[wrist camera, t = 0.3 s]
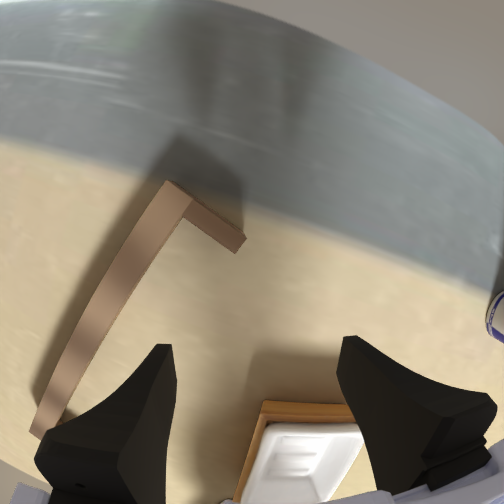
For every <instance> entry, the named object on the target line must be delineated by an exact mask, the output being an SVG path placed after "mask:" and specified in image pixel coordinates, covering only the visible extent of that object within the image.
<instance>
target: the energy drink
mask: <svg viewBox="0 0 504 504" xmlns="http://www.w3.org/2000/svg"><path fill="white" fill-rule="evenodd" d="M486 328H487V331H488V333H489V334H490V335H491V336H492V337H494V338H496V339H497V340H499V341H501V342H502V343H504V291H503V292H501V293H499V294H498V295H497V296H496V297H495V298H494V300H493V301H492V303H491V305H490V307H489V309H488V312H487V316H486Z"/></svg>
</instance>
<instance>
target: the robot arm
mask: <svg viewBox="0 0 504 504" xmlns="http://www.w3.org/2000/svg"><path fill="white" fill-rule="evenodd" d="M336 374H337V377H338V381H339V384H340V387H341V390H342V393H343V395H344V397H345V399H346V402H347V404H348V406H349V408H350V410H351V412H352V414H353V416H354V418H355V420H356V423H357V425H358V427H359V429H360V431H361V434H362V436H363V439H364V442H365V445H366V448H367V452H368V455H369V459H370V462H371V466H372V470H373V474H374V478H375V483H376V487H377V491H371V492H366V493H362V494H359V495H354V496H350V497H346V498H341V499H337V500H332V501H327V502H322V503H316V504H504V439H502V440H501V441H499V442H497V443H495V444H494V445H492V446H491V447H490V448H489V449H488V450H487V449H486V447H485V446H484V445H485V444H486V442H487V440H486V439H485V438H484V436H483V435H484V434H485V432H486V431H487V429H488V428H489V426H490V425H491V423H492V422H493V420H494V418H495V416H496V413H497V405H496V403H495V402H494V401H493V400H492V399H491V398H490V396H489V395H488V394H487V393H482V392H475V391H468V390H464V389H459V388H455V387H451V386H448V385H445V384H442V383H439V382H436V381H433V380H431V379H428V378H426V377H424V376H422V375H420V374H417V373H415V372H413V371H411V370H409V369H408V368H406V367H404V366H402V365H401V364H399V363H397V362H396V361H394V360H393V359H391V358H389V357H388V356H386V355H385V354H383V353H382V352H380V351H379V350H378V349H376V348H375V347H373V346H372V345H370V344H369V343H367V342H366V341H364V340H363V339H361V338H360V337H358V336H357V335H355V336H345V337H343V342H342V347H341V352H340V357H339V362H338V367H337V371H336ZM176 391H177V378H176V371H175V365H174V358H173V351H172V344H156V345H155V346H154V348H153V349H152V350H151V352H150V353H149V354H148V356H147V357H146V358H145V359H144V361H143V362H142V363H141V364H140V365H139V367H138V368H137V369H136V370H135V371H134V372H133V374H132V375H131V376H130V377H129V378H128V379H127V380H126V381H125V382H124V383H123V384H122V385H121V386H120V387H119V388H118V389H117V390H116V391H115V392H113V393H112V394H111V395H110V396H109V397H107V398H106V399H105V400H103V401H102V402H101V403H99V404H98V405H96V406H95V407H93V408H92V409H90V410H89V411H87V412H85V413H84V414H82V415H80V416H78V417H76V418H74V419H72V420H70V421H68V422H66V423H63V424H61V425H58V426H56V427H53V428H51V429H48V430H47V431H46V432H45V434H44V436H43V438H42V440H41V443H40V445H39V447H38V450H37V452H36V455H35V457H34V461H35V464H36V466H37V468H38V469H39V471H40V472H41V474H42V475H43V476H44V477H45V479H46V480H47V481H48V482H49V483H50V485H51V486H52V487H53V490H52V493H51V495H50V494H49V493H47V492H46V491H44V490H41V489H38V488H35V487H32V486H29V485H26V484H23V483H20V482H18V483H17V486H16V488H15V491H14V494H13V496H12V499H11V502H10V504H166V459H167V447H168V440H169V435H170V429H171V424H172V419H173V414H174V408H175V403H176ZM220 504H241V503H237V502H233V501H232V500H230V499H227V500H225V501H223V502H222V503H220Z"/></svg>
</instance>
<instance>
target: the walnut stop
mask: <svg viewBox="0 0 504 504" xmlns="http://www.w3.org/2000/svg"><path fill="white" fill-rule="evenodd" d="M183 217H184V218H186V219H187V220H188V221H190V222H191V223H192V224H194V225H195V226H197V227H198V228H199V229H201V230H202V231H204V232H205V233H206V234H208V235H209V236H211V237H212V238H213V239H215V240H216V241H217V242H219V243H220V244H222V245H223V246H224V247H226V248H227V249H229V250H230V251H231V252H233V253H234V254H235V253H236V252H237V251H238V249H239V248H240V247H241V245H242V244H243V243H244V241H245V240H246V239H247V238H246V236H245V234H244V233H243V232H242V231H241V230H239V229H238V228H237V227H235V226H234V225H233V224H231V223H230V222H228V221H227V220H226V219H224V218H223V217H222V216H220V215H219V214H217V213H216V212H215V211H213V210H212V209H211V208H209V207H208V206H206V205H205V204H204V203H202V202H201V201H200V200H198V199H197V198H195V197H194V196H193V195H191V194H190V193H189V192H187V191H186V190H184V189H183V188H182V187H180V186H179V185H177V184H176V183H175V182H173V181H169V180H166V181H165V182H164V184H163V185H162V187H161V188H160V189H159V191H158V192H157V194H156V195H155V197H154V198H153V200H152V201H151V202H150V204H149V205H148V207H147V208H146V210H145V211H144V213H143V214H142V216H141V217H140V219H139V220H138V222H137V223H136V225H135V227H134V228H133V230H132V231H131V233H130V234H129V236H128V237H127V239H126V241H125V242H124V244H123V245H122V247H121V249H120V250H119V252H118V253H117V255H116V257H115V258H114V260H113V262H112V263H111V265H110V267H109V268H108V270H107V272H106V273H105V275H104V277H103V279H102V280H101V282H100V284H99V286H98V287H97V289H96V291H95V293H94V294H93V296H92V298H91V300H90V302H89V303H88V305H87V307H86V309H85V311H84V313H83V314H82V316H81V318H80V320H79V322H78V324H77V326H76V328H75V330H74V332H73V334H72V336H71V337H70V339H69V341H68V343H67V345H66V347H65V350H64V352H63V354H62V356H61V358H60V360H59V362H58V364H57V366H56V368H55V371H54V373H53V375H52V377H51V379H50V381H49V384H48V386H47V388H46V391H45V393H44V395H43V397H42V400H41V402H40V405H39V407H38V409H37V412H36V414H35V417H34V419H33V422H32V424H31V427H30V430H29V432H30V433H31V434H33V435H34V436H35V437H37V438H38V439H40V440H42V438H43V436H44V434H45V432H46V431H47V430H48V429H51V428H53V427H56V426H58V425H61V424H63V422H61V421H60V418H61V416H62V414H63V412H64V410H65V408H66V406H67V404H68V402H69V400H70V398H71V397H72V395H73V393H74V391H75V389H76V387H77V385H78V384H79V382H80V380H81V378H82V376H83V375H84V373H85V371H86V369H87V367H88V366H89V364H90V362H91V360H92V359H93V357H94V355H95V353H96V352H97V350H98V348H99V346H100V345H101V343H102V341H103V340H104V338H105V336H106V335H107V333H108V331H109V330H110V328H111V326H112V325H113V323H114V321H115V320H116V318H117V316H118V315H119V313H120V311H121V310H122V308H123V307H124V305H125V303H126V302H127V300H128V299H129V297H130V295H131V294H132V292H133V291H134V289H135V288H136V286H137V284H138V283H139V281H140V280H141V278H142V277H143V275H144V274H145V272H146V271H147V269H148V268H149V266H150V264H151V263H152V261H153V260H154V258H155V257H156V255H157V254H158V252H159V251H160V250H161V248H162V247H163V245H164V244H165V242H166V241H167V239H168V238H169V236H170V235H171V233H172V232H173V231H174V229H175V228H176V226H177V225H178V223H179V222H180V221H181V219H182V218H183Z"/></svg>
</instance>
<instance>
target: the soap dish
mask: <svg viewBox="0 0 504 504" xmlns="http://www.w3.org/2000/svg"><path fill="white" fill-rule="evenodd" d="M363 443H364V439H363V436H362V434H361V431H360V429H359V427H358V425H357V423H356V420H355V418H354V416H353V414H352V412H351V410H350V408H349V406H348V405H346V404H316V403H298V402H283V401H270V400H264V401H263V404H262V407H261V411H260V414H259V418H258V421H257V424H256V428H255V431H254V434H253V438H252V441H251V444H250V447H249V450H248V454H247V457H246V460H245V463H244V466H243V470H242V473H241V476H240V479H239V482H238V485H237V488H236V491H235V494H234V497H233V500H232V501H233V502H237V503H241V504H316V503H322V502H327V501H328V500H329V499H330V498H331V496H332V495H333V493H334V492H335V490H336V489H337V487H338V486H339V484H340V483H341V481H342V479H343V478H344V476H345V475H346V473H347V472H348V470H349V468H350V467H351V465H352V463H353V462H354V460H355V458H356V456H357V455H358V453H359V451H360V449H361V447H362V445H363Z"/></svg>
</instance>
